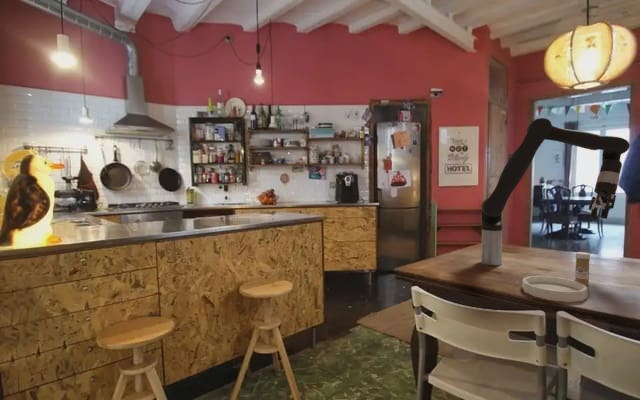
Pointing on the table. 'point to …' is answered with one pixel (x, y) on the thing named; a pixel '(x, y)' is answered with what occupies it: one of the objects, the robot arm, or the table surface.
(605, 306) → the table surface
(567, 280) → the bowl
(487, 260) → the robot arm
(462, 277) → the table surface
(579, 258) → the sprinkles bottle
